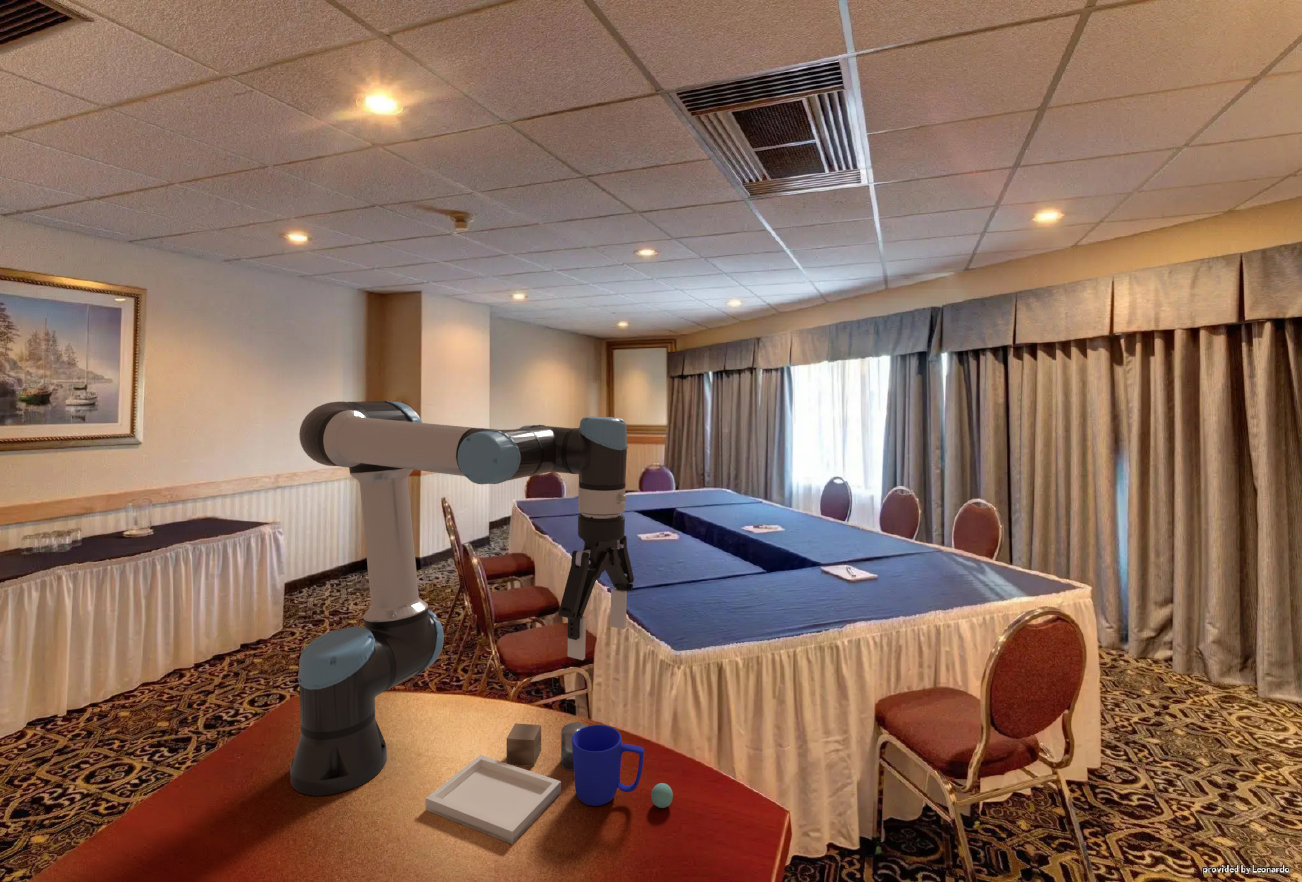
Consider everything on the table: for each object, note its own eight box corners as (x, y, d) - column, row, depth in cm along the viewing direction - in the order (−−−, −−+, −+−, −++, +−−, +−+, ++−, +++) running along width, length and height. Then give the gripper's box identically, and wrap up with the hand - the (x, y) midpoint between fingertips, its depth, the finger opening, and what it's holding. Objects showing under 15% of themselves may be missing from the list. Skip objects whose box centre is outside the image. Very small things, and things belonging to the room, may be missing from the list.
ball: (647, 808, 98) (648, 788, 98) (656, 796, 101) (656, 776, 101) (667, 815, 97) (668, 794, 97) (675, 802, 100) (676, 781, 100)
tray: (425, 809, 97) (425, 798, 97) (480, 765, 109) (480, 754, 109) (512, 844, 90) (512, 831, 90) (560, 792, 102) (560, 781, 102)
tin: (555, 765, 109) (555, 733, 109) (570, 750, 114) (570, 719, 113) (579, 772, 107) (579, 740, 107) (593, 757, 112) (594, 726, 111)
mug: (637, 819, 96) (638, 758, 95) (564, 807, 98) (564, 748, 97) (648, 786, 104) (649, 730, 103) (580, 776, 106) (580, 721, 105)
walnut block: (506, 765, 109) (506, 738, 109) (515, 748, 114) (515, 723, 114) (533, 766, 109) (533, 740, 109) (541, 750, 114) (541, 724, 114)
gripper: (581, 531, 85) (577, 678, 87) (655, 503, 107) (651, 620, 109) (536, 525, 88) (534, 666, 90) (617, 499, 110) (614, 612, 112)
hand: (598, 641), depth 99 cm, fingers open, 13 cm apart
